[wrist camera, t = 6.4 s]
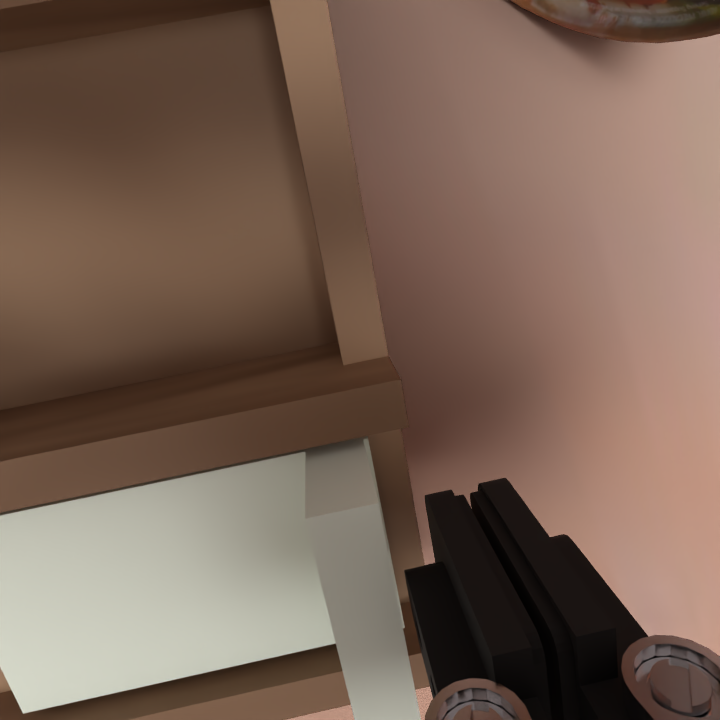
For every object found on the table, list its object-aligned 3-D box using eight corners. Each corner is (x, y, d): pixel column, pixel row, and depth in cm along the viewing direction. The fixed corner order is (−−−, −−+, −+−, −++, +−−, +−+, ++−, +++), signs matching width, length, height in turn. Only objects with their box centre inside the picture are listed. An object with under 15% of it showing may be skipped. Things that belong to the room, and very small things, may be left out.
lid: (-43, 507, 11) (-174, 621, 8) (364, 423, 12) (384, 501, 9) (40, 682, 13) (-45, 835, 10) (399, 602, 13) (427, 725, 10)
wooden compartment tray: (-194, 48, 11) (-507, -49, 7) (306, -38, 12) (306, -179, 7) (61, 632, 16) (-30, 791, 12) (413, 554, 17) (451, 681, 12)
